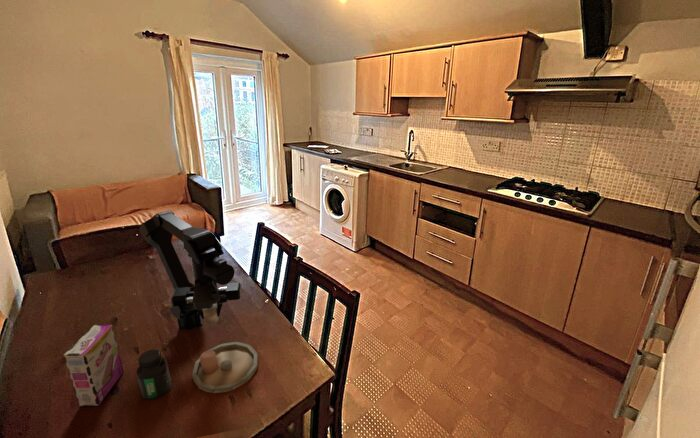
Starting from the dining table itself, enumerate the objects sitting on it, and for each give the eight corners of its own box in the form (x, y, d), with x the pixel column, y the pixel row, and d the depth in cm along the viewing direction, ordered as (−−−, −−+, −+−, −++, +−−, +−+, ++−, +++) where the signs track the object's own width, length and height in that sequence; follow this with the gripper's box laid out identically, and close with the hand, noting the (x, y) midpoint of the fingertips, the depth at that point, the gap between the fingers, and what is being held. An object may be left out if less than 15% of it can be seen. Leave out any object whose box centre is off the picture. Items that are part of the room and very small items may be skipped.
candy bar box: (100, 406, 81) (84, 355, 75) (79, 407, 81) (61, 355, 75) (125, 371, 92) (113, 323, 86) (106, 371, 91) (92, 324, 85)
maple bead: (203, 325, 98) (201, 311, 96) (205, 316, 101) (203, 303, 99) (217, 323, 98) (215, 309, 97) (219, 315, 102) (217, 302, 100)
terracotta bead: (200, 376, 90) (198, 362, 88) (203, 365, 93) (201, 351, 92) (216, 373, 91) (214, 359, 89) (218, 363, 94) (216, 349, 93)
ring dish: (187, 400, 83) (186, 394, 83) (200, 352, 99) (199, 346, 98) (257, 389, 88) (256, 383, 87) (258, 344, 103) (258, 338, 103)
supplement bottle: (157, 406, 82) (148, 369, 78) (136, 398, 84) (126, 362, 79) (178, 384, 88) (171, 349, 84) (158, 378, 90) (150, 343, 86)
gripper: (161, 291, 85) (170, 339, 90) (236, 284, 89) (241, 330, 94) (172, 270, 95) (180, 314, 100) (239, 265, 99) (243, 307, 104)
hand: (211, 317), depth 99 cm, fingers closed on maple bead, 4 cm apart
